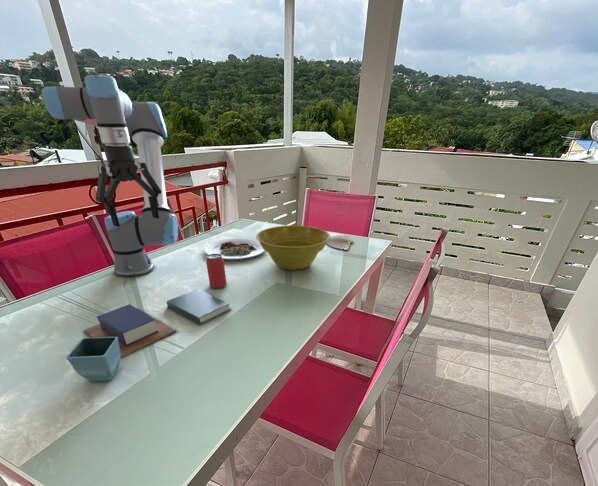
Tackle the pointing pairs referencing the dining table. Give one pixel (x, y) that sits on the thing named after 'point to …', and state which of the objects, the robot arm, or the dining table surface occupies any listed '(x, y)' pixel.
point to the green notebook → (198, 306)
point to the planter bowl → (293, 245)
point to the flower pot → (96, 358)
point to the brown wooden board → (126, 350)
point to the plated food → (235, 248)
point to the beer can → (216, 271)
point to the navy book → (127, 324)
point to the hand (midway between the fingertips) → (137, 221)
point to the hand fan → (339, 241)
